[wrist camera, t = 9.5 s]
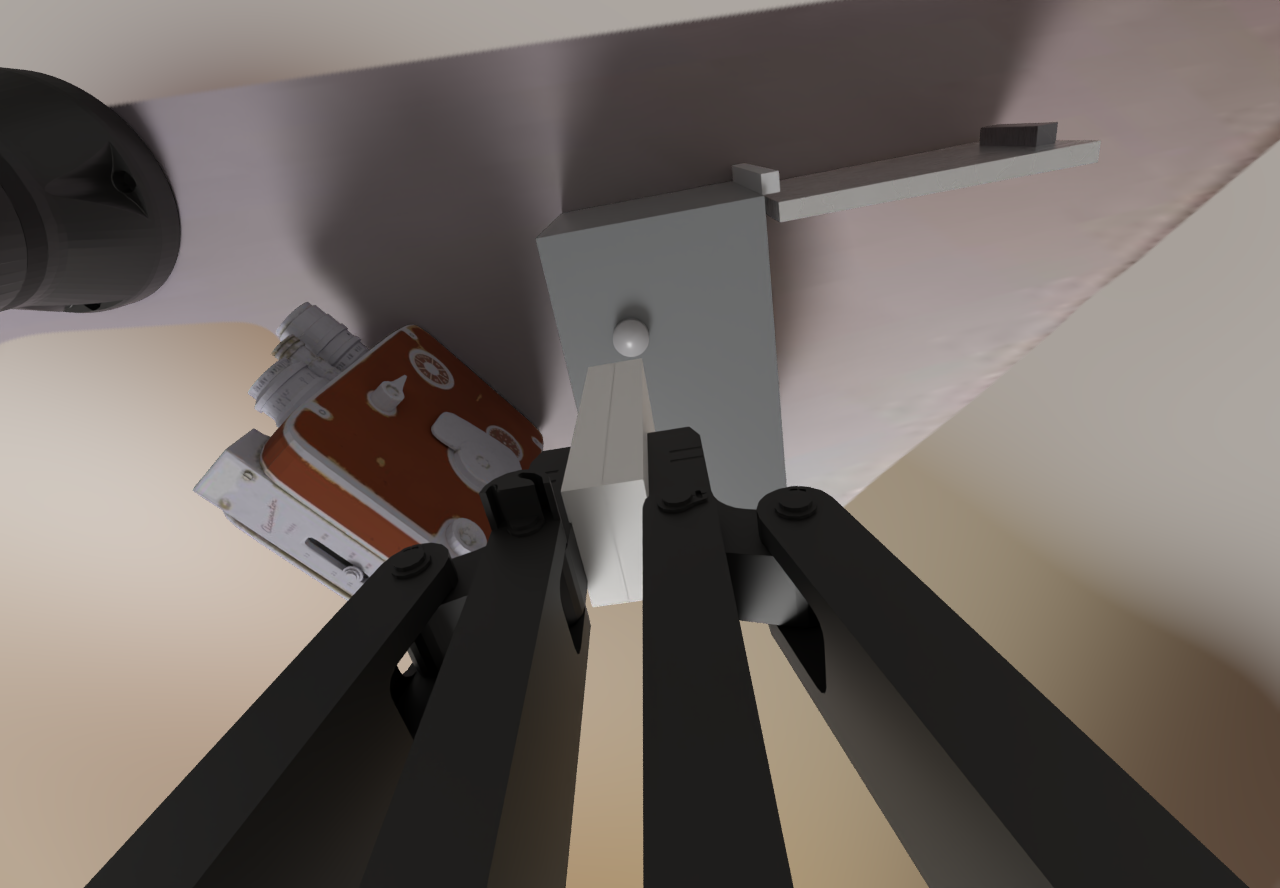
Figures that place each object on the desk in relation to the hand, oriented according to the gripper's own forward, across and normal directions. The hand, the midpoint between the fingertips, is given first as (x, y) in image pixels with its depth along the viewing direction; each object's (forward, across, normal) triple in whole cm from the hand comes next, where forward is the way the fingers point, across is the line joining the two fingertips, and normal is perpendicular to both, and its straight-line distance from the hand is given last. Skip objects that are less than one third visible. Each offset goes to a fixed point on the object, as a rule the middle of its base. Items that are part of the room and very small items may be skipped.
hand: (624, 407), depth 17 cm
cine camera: (+30, -18, -8) cm, 35 cm away
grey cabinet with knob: (+29, +1, -7) cm, 30 cm away
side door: (+29, +16, +2) cm, 33 cm away
